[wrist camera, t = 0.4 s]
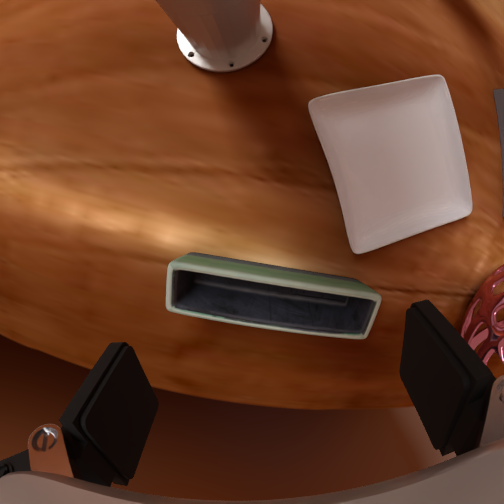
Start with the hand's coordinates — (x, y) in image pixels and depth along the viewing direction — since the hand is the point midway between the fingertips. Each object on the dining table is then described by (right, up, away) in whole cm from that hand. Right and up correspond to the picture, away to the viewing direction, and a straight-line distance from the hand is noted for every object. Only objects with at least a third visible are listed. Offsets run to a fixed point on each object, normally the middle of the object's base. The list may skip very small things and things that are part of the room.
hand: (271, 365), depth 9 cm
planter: (+2, -1, +35) cm, 35 cm away
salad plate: (+19, +17, +28) cm, 38 cm away
